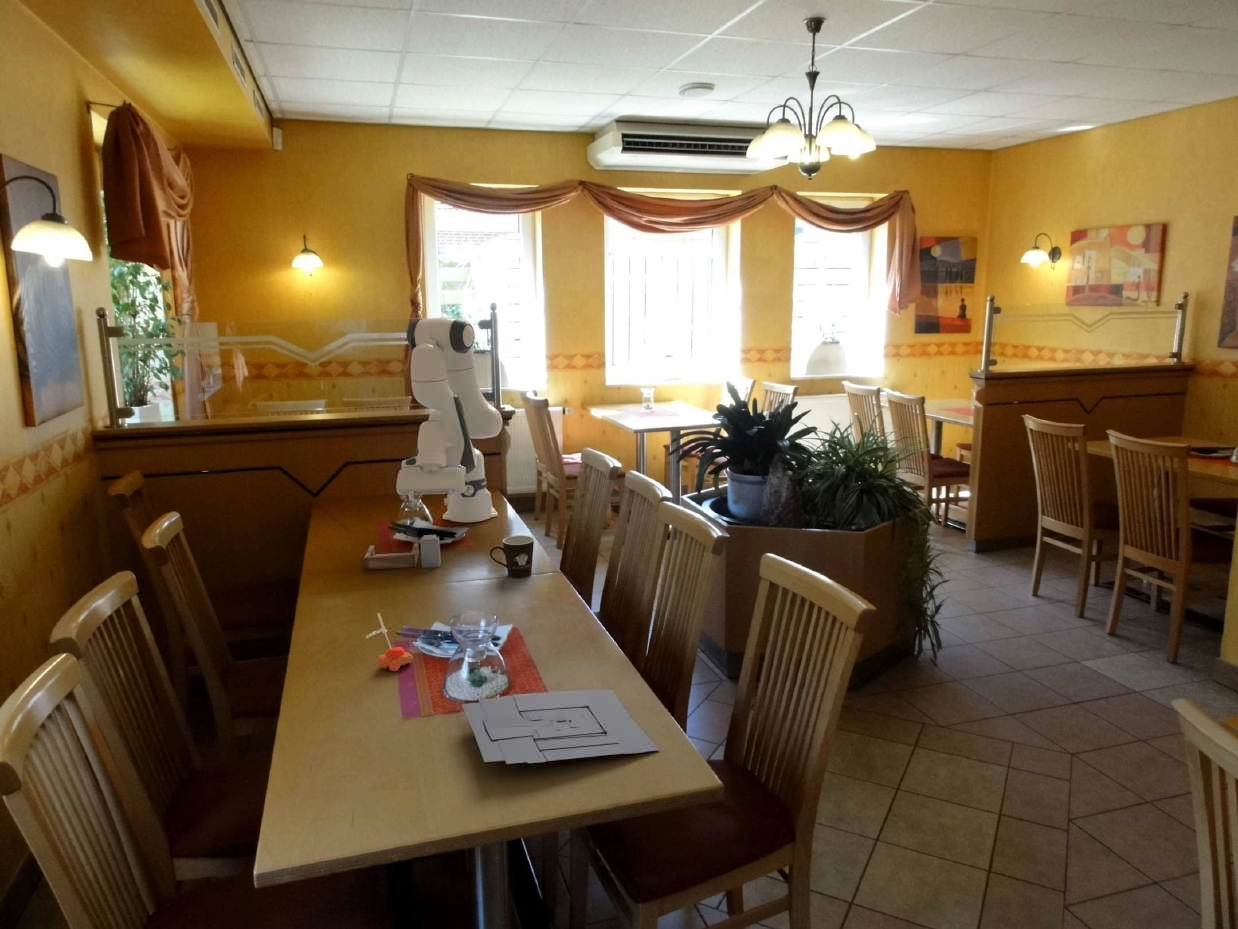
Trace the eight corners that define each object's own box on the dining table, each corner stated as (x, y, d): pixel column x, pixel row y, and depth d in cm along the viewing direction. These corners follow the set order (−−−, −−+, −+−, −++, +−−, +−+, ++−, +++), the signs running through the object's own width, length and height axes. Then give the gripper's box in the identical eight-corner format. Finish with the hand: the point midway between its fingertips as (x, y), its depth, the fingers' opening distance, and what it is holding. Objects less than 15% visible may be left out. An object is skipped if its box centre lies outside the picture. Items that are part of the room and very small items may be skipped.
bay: (371, 556, 250) (370, 545, 249) (419, 554, 252) (418, 542, 251) (364, 569, 238) (364, 558, 238) (415, 566, 240) (414, 555, 239)
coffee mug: (538, 569, 236) (536, 535, 234) (532, 580, 228) (530, 545, 226) (497, 568, 238) (496, 535, 235) (490, 579, 229) (488, 544, 227)
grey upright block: (423, 564, 243) (421, 534, 241) (440, 563, 243) (438, 534, 241) (422, 568, 239) (420, 538, 237) (439, 567, 240) (438, 537, 238)
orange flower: (365, 666, 178) (360, 613, 175) (410, 657, 182) (406, 605, 179) (370, 678, 172) (365, 623, 170) (416, 668, 176) (412, 614, 174)
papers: (458, 713, 155) (459, 694, 154) (610, 701, 166) (612, 684, 165) (485, 784, 133) (487, 763, 132) (658, 765, 144) (661, 746, 143)
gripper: (466, 470, 261) (466, 509, 253) (399, 472, 258) (397, 511, 250) (465, 459, 255) (465, 498, 248) (396, 461, 252) (394, 500, 245)
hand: (430, 505), depth 249 cm, fingers open, 8 cm apart
